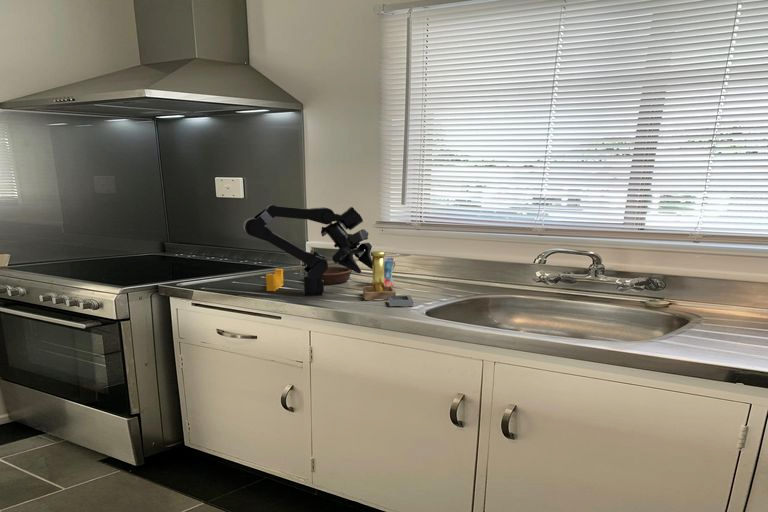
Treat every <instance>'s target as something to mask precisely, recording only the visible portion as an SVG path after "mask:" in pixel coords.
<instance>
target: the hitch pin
mask: <svg viewBox="0 0 768 512" xmlns="http://www.w3.org/2000/svg"><path fill="white" fill-rule="evenodd" d="M386 255H387V254H386V251H370V256H371V259H372V264H373V270H372V282H373V285H372V286H373V292H384V257H386Z"/></svg>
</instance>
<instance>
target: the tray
mask: <svg viewBox="0 0 768 512" xmlns="http://www.w3.org/2000/svg"><path fill="white" fill-rule="evenodd" d="M362 295H363V298H364V299H365V300H374V299H387V296H397V293H396V289H395V288H394V285H393V286H384V292H373V285H364V286H362ZM364 299H363V300H364ZM365 300H364V301H365Z"/></svg>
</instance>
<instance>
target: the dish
mask: <svg viewBox="0 0 768 512" xmlns="http://www.w3.org/2000/svg"><path fill="white" fill-rule="evenodd" d="M352 272H353V270H351V269H349V268H346V267H344V266H342V267H341V266H328V268H327V270H326V271H325V272H324V274H323V277H322V280H324V285H337V284H338V285H339V284H343V283H346V282H348V281H349V279H350V277H351V274H352Z"/></svg>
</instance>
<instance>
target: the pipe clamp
mask: <svg viewBox="0 0 768 512" xmlns="http://www.w3.org/2000/svg"><path fill="white" fill-rule="evenodd" d="M265 276H266V278H265V279H266V280H265V281H266V292H267V291H274V292H275V291H277V290H278V289H279V288H281V287H282V286H284V268H275V269H274V273H267V274H266V275H265Z"/></svg>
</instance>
